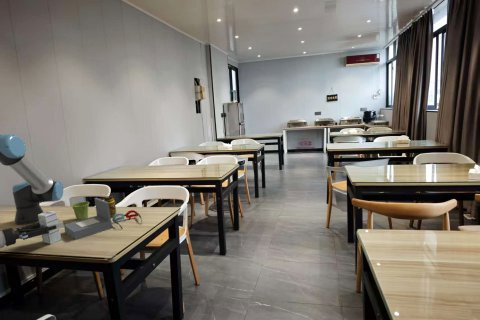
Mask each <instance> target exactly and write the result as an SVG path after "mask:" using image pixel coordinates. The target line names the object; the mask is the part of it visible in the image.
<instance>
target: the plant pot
mask: <svg viewBox="0 0 480 320" xmlns="http://www.w3.org/2000/svg"><path fill="white" fill-rule="evenodd" d="M89 205H90V202H89V201H80V202H77V203H76V202H75V203H73V204H72V205H71V208H72V209H73V213H74V214H75V219H76V220H77V221H80V220H83V219H87V218H89Z"/></svg>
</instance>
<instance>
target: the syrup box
mask: <svg viewBox="0 0 480 320" xmlns="http://www.w3.org/2000/svg"><path fill="white" fill-rule="evenodd" d="M43 212H44V213H41V214H39V215H38V218H39V221H38V222H39V223H40V228H42V227H48V225H52V224H55V223H58V220H59V219H58V220H57V218H58V214H57V211H51V210H49V211H43ZM41 237H42V243H44V244H48V245H52V244H55V243H57V242H59V241H62V235H61V231H60V228H59V229H56V230H52V231H49V234H43V235H41Z"/></svg>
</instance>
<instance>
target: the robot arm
mask: <svg viewBox="0 0 480 320" xmlns="http://www.w3.org/2000/svg"><path fill="white" fill-rule="evenodd" d="M26 148H27V147H26V144H25V142H24V140H23V139H22V138H21V137H20V136H19V135H17V134H11V133H3V134H0V164H1V165H3V166H6V167H8V166H9V167H10V168H11V169H12V170H13V171H14V172H15V173H16V174H17V175H18V176H20V177H21V179H23V180H24V181H23V182H20V183H16V184H14V185H13V186H12V195H13V200H14V205H15V210H16V211H15V216H14V224H15V225H24V226H20V227H16V228H15V229H16V230H14V229H13V227H9V228H5V229H2V230H0V249H2V248H4V247H9V246H12V245H13V246H14V245H16V244H17V240H19V239H20V240H22V241H25V240H28V239H31V238H36V237H39V236H42V235H43V234H49V231H52V230H56V229H59V230H60V229H61V228H63V229H64V225H65V224H64V221H59V217H57V220H58V223H55V224H52V225H48V227H42V228H40V223H39V218H38V215H39V214H41V213H44V212H45V211H44V210H43V209H42V207H41V205H40V203H47V202H48V203H49V202H50V203H51V202H52V203H53V202H57V201H60V200H62V198H63V196H64V184H63V183H62V181H59V180H56V181H55V180H54V179H52V177H50V176H46V175H45V174H44V173H43V172H42V171H41V170H40V169H39V168H38V167H37V166H36V165H35V164H34V163H33V162H32V161H31V160H30V158H28V157H27V156H26V150H27V149H26Z"/></svg>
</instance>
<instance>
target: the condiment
mask: <svg viewBox="0 0 480 320" xmlns="http://www.w3.org/2000/svg"><path fill="white" fill-rule="evenodd" d="M103 200H104V201H106V202H108V203H109V210H110V217H111V219H113V216H114V215H115V214H117V208H116V202H115V198H114V196H113V195H108V196H106V195H105V196H104V197H103ZM116 218H119V216H117V217H116Z"/></svg>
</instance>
